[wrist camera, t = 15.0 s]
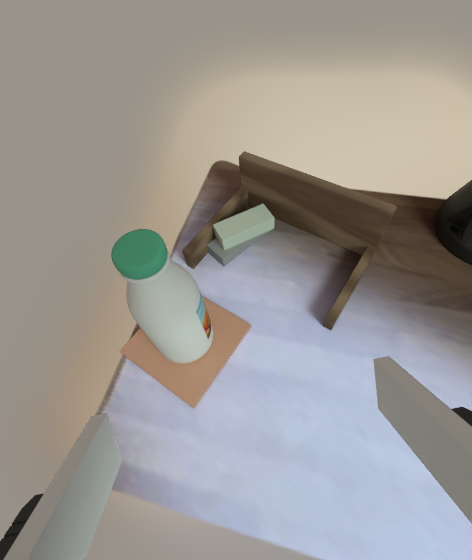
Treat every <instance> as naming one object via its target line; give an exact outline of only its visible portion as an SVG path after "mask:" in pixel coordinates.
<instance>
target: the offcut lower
mask: <svg viewBox="0 0 472 560" xmlns="http://www.w3.org/2000/svg"><path fill="white" fill-rule="evenodd" d="M267 232H269V231H267ZM267 232H265V233H263V234H260V235H258V236H256V237H254V238H251V239H249V240H247V241H244V242H242V243H240V244H238V245H235V246H233V247H231V248H228V249H226V250H224V249H223V248H222V246H221V244H220V243H219V241H218V239H217V238H215V239H214V240H212V241H211V242H210V243H208V244H207V249H208V253H210V254H211V255H212V256H213V257H214V258H215V259H216V260H217V261H219V262H220V263H221V264H222V265H223V266H225V265H227V264H228V263H229V262H230V261H232V260H233V259H234V258H235V257H237V256H238V255H239V254H241V253H242V252H243V251H244V250H246V249H247V248H248V247H250V246H251V245H252V244H253V243H255V242H256V241H257V240H258V239H260V238H261V237H262V236H264V235H265V234H266V233H267Z"/></svg>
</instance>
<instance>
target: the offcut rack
mask: <svg viewBox="0 0 472 560" xmlns="http://www.w3.org/2000/svg"><path fill="white" fill-rule="evenodd" d="M239 165H240V177H241V188H240V189H239V190H238V191H237V192H236V193H235V194H234V195H233V196H232V198H231V199H230V200H229V201H228V202H227V203H226V204H225V205H224V206H223V207H222V208H221V209H220V210H219V212H218V213H217V214H216V215H215V216H214V217H213V218H212V219H211V220H210V221H209V222H208V223H207V224H206V226H205V227H204V228H203V229H202V230H201V231H200V232H199V233H198V234H197V235H196V236H195V237H194V238H193V240H192V241H191V242H190V243H189V244H188V245H187V246H186V247H185V248H184V249H183V250H182V251H183V254H184V257H185V260H186V262H187V265H188V266H189V267H191V268H193V269H194V268H195V267H196V265H197V264H198V263H199V262H200V261H201V260H202V259H203V258H204V256H205V255H206V254H207V253H208V249H207V244H208V243H210V242H211V241H212V240H214V239H215V238H216V236H215V233H214V228H213V224H216V223H218V222H220V221H223V220H225V219H228V218H230V217H232V216H235V215H237V214H239V213H242V212H244V211H245V210H246V208H247V207H251V208H254V207H256V206H258V205H261V204H264V205H265V206H266V208H267V209H268V210H269V211H270V213H271V214H272V215H273V216H274V218H276V219H279V220H281V221H283V222H285V223H288V224H290V225H292V226H295V227H297V228H299V229H302V230H304V231H306V232H309V233H311V234H313V235H316V236H318V237H320V238H323V239H325V240H327V241H330V242H332V243H334V244H336V245H339V246H341V247H343V248H346V249H348V250H350V251H353V252H355V253H357V254H360V255H362V257H361V259H360V261H359V262H358V264H357V266H356V268H355V269H354V271H353V273H352V274H351V276H350V278H349V280H348V281H347V283H346V285H345V286H344V288H343V290H342V291H341V293H340V295H339V297H338V298H337V300H336V302H335V303H334V305H333V307H332V309H331V310H330V312H329V314H328V315H327V317H326V319H325V322H324V324H323V326H324V327H326V328H328V329H329V330H331V329H332V328H333V326H334V324H335V322H336V321H337V319H338V317H339V315H340V314H341V312H342V310H343V308H344V306H345V305H346V303H347V301H348V299H349V298H350V296H351V294H352V292H353V291H354V289H355V287H356V285H357V284H358V282H359V280H360V278H361V276H362V275H363V273H364V271H365V269H366V268H367V266H368V264H369V262H370V261H371V259H372V257H373V255H374V253H375V252H376V249H377V247H378V245H379V243H380V241H381V239H382V237H383V235H384V233H385V231H386V229H387V227H388V224H389V222H390V220H391V218H392V216H393V214H394V212H395V210H396V208H397V206H395V205H392V204H389V203H387V202H384V201H381V200H378V199H376V198H373V197H370V196H367V195H364V194H362V193H359V192H356V191H353V190H350V189H348V188H345V187H342V186H339V185H336V184H333V183H331V182H328V181H325V180H322V179H320V178H317V177H314V176H311V175H308V174H306V173H303V172H300V171H297V170H295V169H292V168H289V167H286V166H283V165H281V164H278V163H275V162H272V161H269V160H267V159H264V158H261V157H258V156H255V155H253V154H250V153H247V152H243V153H242V154H241V155H240V156H239Z"/></svg>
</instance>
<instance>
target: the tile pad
mask: <svg viewBox="0 0 472 560" xmlns="http://www.w3.org/2000/svg"><path fill="white" fill-rule="evenodd" d="M202 298H203V301H204V304H205V306H206V309H207V312H208V315H209V318H210V321H211V324H212V327H213V341H212V344H211V346H210V348H209V349H208V351H207V352H206V353H205V354H204V355H203V356H202V357H201V358H199V359H198V360H196V361H193V362H190V363H184V364H181V363H175V362H172V361H170V360H168V359H167V358H166V357H165V356H164V355H163V354H162V353H161V352H160V351H159V350H158V349H157V347H156V346H155V345H154V344H153V342H152V341H151V340H150V339H149V338H148V336H147V335H146V334H145V333H144V331H143V330H142V329H141V328H140V329H139V330H138V331H137V332H136V333H135V335H134V336H133V337H132V338H131V339H130V340H129V341H128V342H127V344H126V345H125V346H124V347H123V348H122V349H121V351H120V353H122V354H123V355H124V356H126V357H127V358H128V359H129V360H131V361H132V362H133V363H135V364H136V365H137V366H139V367H140V368H141V369H143V370H144V371H145V372H146V373H148V374H149V375H150V376H152V377H153V378H154V379H156V380H157V381H158V382H160V383H161V384H162V385H163V386H165V387H166V388H167V389H169V390H170V391H171V392H173V393H174V394H175V395H177V396H178V397H179V398H180V399H182V400H183V401H184V402H186V403H187V404H188V405H190V406H191V407H192V408H195V406H196V405H197V404H198V402H199V401H200V399H201V398H202V396H203V395H204V394H205V392H206V391H207V389H208V388H209V386H210V385H211V384H212V382H213V381H214V379H215V378H216V376H217V375H218V374H219V372H220V371H221V369H222V368H223V366H224V365H225V364H226V362H227V361H228V359H229V358H230V356H231V355H232V354H233V352H234V351H235V349H236V348H237V346H238V345H239V344H240V342H241V341H242V339H243V338H244V336H245V335H246V334H247V332H248V331H249V329H250V328H251V325H250V324H249V323H247V322H245V321H243V320H242V319H240V318H238V317H237V316H235V315H233V314H232V313H230V312H228V311H227V310H225V309H223V308H221V307H220V306H218V305H216V304H215V303H213V302H211V301H210V300H208V299H206V298H205V297H203V296H202Z"/></svg>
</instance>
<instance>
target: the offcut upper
mask: <svg viewBox="0 0 472 560" xmlns="http://www.w3.org/2000/svg"><path fill="white" fill-rule="evenodd" d="M213 228H214V233H215V236H216V238H217V239H218V241H219V243H220V244H221V246H222V248H223V249H224V250H226V249H228V248H231V247H233V246H235V245H238V244H240V243H242V242H244V241H247V240H249V239H251V238H254V237H256V236H258V235H260V234H263V233H265V232H267V231H270V230H272V229H274V216H273V215H272V214H271V213H270V211H269V210H268V209H267V208H266V206H265V205H264V204H261V205H258V206H256V207H254V208H251V209H249V210H247V211H244V212H242V213H239V214H237V215H235V216H232V217H230V218H228V219H225V220H223V221H220V222H218V223H216V224H213Z"/></svg>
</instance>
